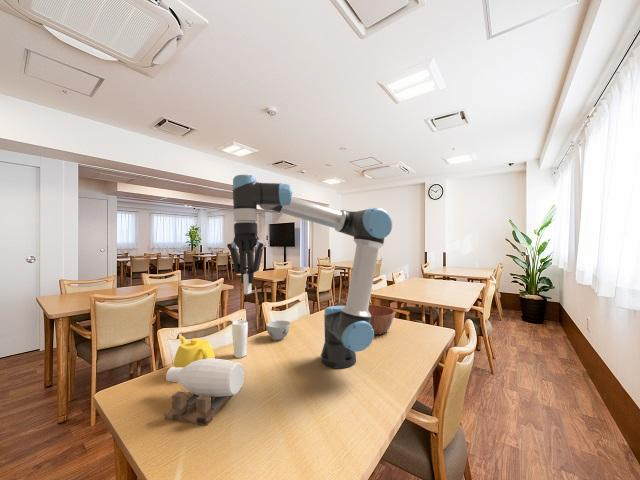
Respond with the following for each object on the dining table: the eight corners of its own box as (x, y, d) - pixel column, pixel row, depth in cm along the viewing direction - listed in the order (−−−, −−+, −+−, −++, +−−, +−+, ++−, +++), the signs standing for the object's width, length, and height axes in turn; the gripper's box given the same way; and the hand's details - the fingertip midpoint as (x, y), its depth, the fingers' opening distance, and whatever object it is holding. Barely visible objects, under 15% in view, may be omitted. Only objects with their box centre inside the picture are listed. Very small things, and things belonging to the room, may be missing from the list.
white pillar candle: (243, 359, 118) (243, 325, 118) (229, 358, 119) (229, 324, 119) (250, 353, 124) (250, 320, 124) (237, 352, 125) (236, 319, 125)
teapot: (188, 385, 97) (188, 350, 97) (163, 369, 109) (163, 338, 109) (222, 370, 108) (222, 338, 108) (196, 357, 120) (196, 329, 120)
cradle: (241, 388, 95) (241, 368, 95) (207, 425, 76) (207, 400, 76) (206, 383, 98) (206, 364, 98) (164, 418, 79) (164, 394, 79)
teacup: (295, 337, 143) (295, 322, 143) (277, 345, 134) (277, 328, 134) (276, 331, 153) (276, 317, 153) (258, 338, 143) (258, 323, 143)
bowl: (400, 338, 141) (399, 316, 141) (352, 338, 142) (352, 316, 142) (388, 323, 166) (388, 304, 166) (348, 323, 167) (347, 305, 167)
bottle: (226, 405, 79) (156, 398, 86) (246, 391, 90) (182, 385, 96) (227, 365, 81) (158, 361, 87) (246, 355, 91) (184, 352, 98)
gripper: (268, 222, 93) (270, 291, 93) (233, 223, 95) (235, 290, 95) (259, 221, 85) (261, 295, 85) (221, 222, 88) (223, 295, 88)
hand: (247, 293), depth 90 cm, fingers closed
